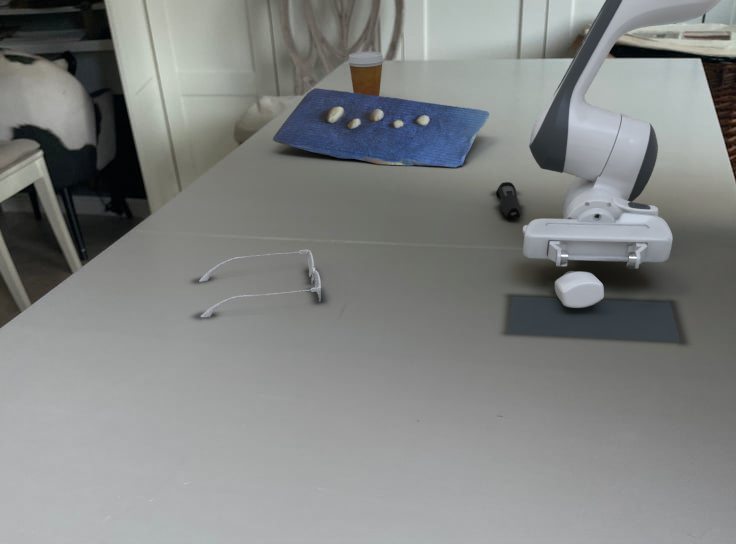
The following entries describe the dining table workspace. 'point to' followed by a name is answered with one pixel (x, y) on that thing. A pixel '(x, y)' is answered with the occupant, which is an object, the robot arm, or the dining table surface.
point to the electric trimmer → (508, 200)
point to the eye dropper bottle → (579, 289)
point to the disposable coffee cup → (366, 72)
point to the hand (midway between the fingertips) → (597, 262)
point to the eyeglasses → (311, 272)
